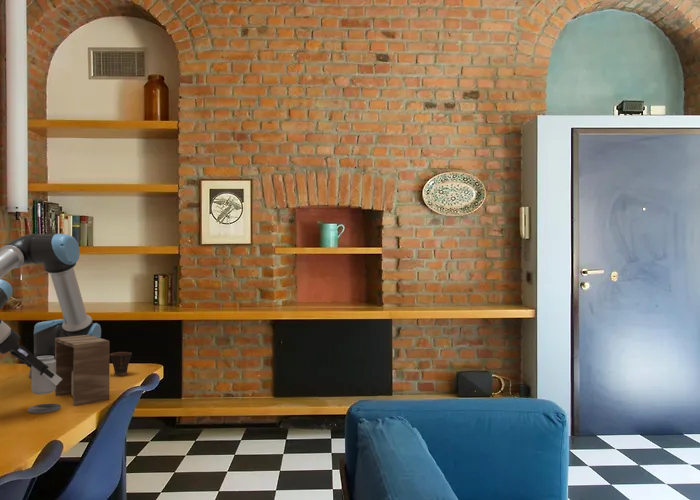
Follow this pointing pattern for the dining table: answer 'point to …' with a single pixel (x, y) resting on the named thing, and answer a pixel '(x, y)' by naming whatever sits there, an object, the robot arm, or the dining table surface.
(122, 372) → the cup
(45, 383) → the can
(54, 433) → the dining table surface
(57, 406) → the coaster
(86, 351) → the wooden box
